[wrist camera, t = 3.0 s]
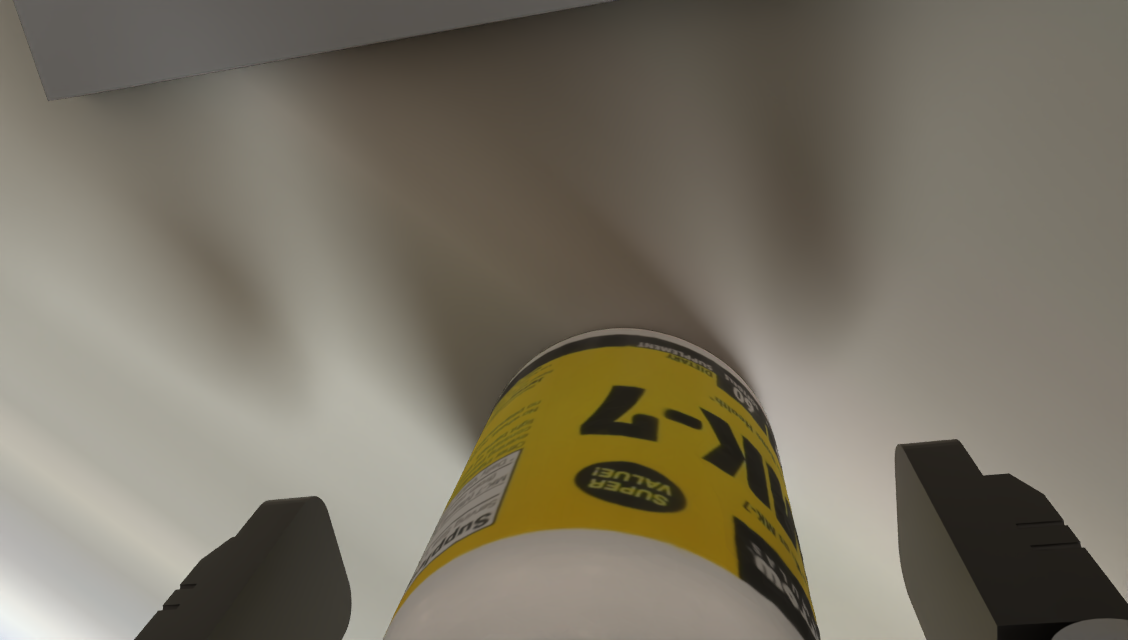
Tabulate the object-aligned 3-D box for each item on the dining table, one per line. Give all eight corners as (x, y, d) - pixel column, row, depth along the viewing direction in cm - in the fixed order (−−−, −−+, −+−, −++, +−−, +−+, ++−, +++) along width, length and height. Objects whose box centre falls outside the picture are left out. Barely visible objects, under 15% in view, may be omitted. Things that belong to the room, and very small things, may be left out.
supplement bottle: (838, 437, 14) (1054, 1010, 6) (656, 621, 15) (634, 1263, 7) (597, 259, 13) (482, 627, 5) (434, 468, 15) (162, 985, 7)
